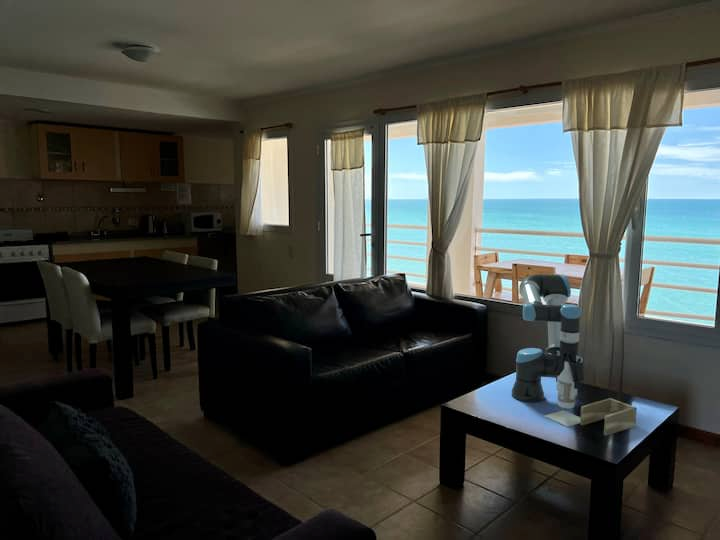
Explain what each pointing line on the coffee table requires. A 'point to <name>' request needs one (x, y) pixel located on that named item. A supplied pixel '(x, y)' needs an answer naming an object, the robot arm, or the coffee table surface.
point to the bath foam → (565, 388)
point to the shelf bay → (609, 415)
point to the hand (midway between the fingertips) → (566, 392)
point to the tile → (564, 418)
